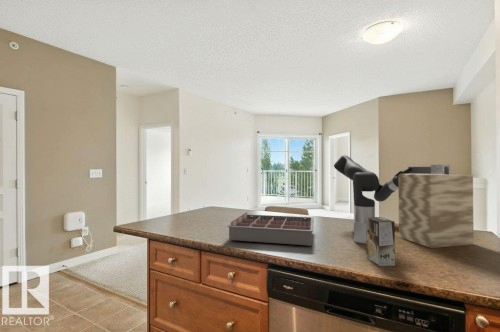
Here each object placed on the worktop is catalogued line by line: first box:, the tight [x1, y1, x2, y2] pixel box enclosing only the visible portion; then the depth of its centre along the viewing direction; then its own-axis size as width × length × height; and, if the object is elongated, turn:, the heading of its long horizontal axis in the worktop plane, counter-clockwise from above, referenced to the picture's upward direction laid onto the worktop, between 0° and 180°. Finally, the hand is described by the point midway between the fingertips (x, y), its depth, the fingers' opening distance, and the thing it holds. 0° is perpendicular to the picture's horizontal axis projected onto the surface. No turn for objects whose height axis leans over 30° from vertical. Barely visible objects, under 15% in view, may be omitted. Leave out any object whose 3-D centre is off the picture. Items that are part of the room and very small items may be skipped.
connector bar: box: [407, 164, 452, 175], centre depth 132 cm, size 20×5×5 cm, turn 15°
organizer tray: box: [226, 211, 315, 246], centre depth 131 cm, size 32×40×10 cm
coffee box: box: [366, 216, 396, 267], centre depth 95 cm, size 9×6×16 cm
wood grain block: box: [398, 174, 475, 249], centre depth 123 cm, size 18×24×32 cm
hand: (418, 168), depth 137 cm, fingers open, 8 cm apart
